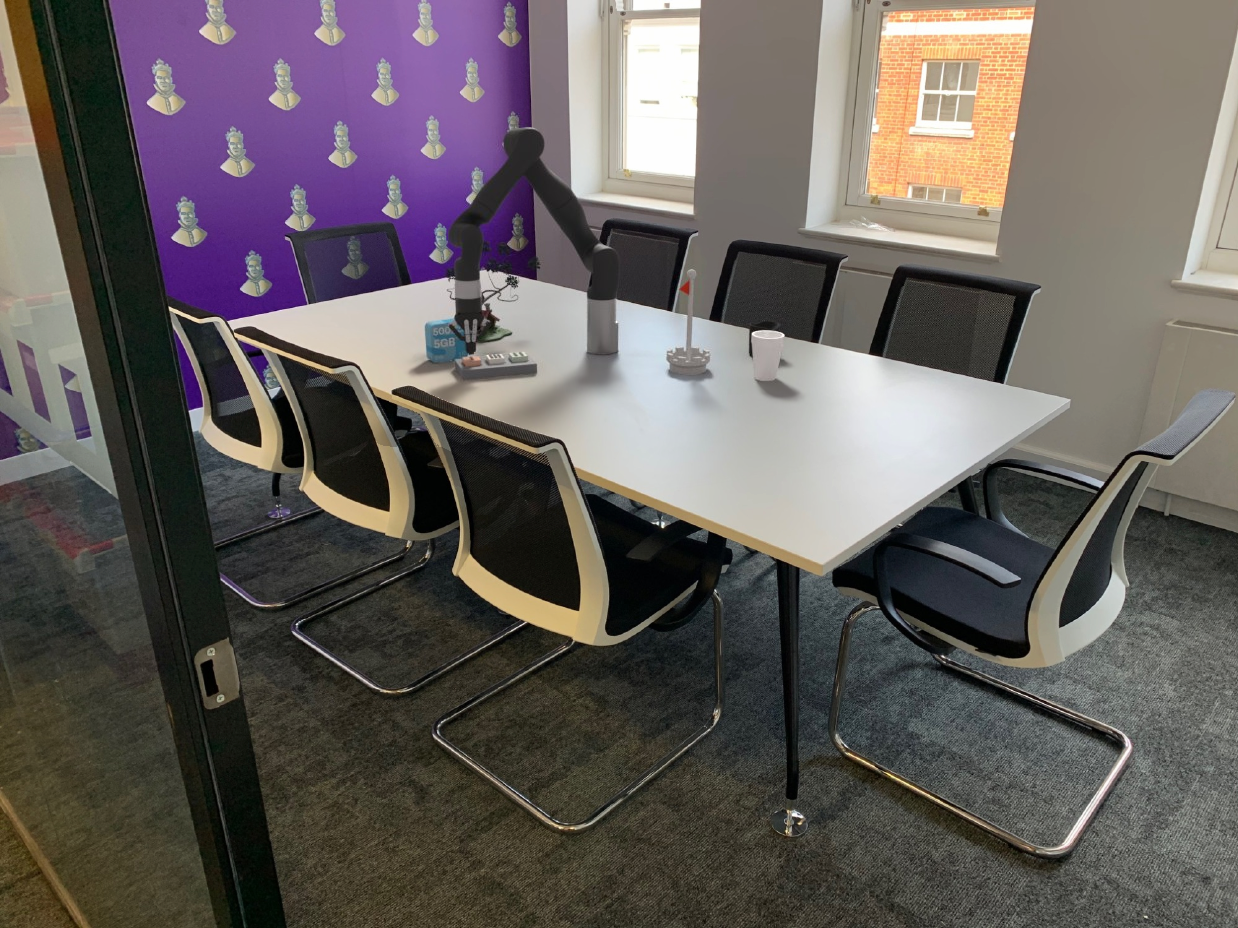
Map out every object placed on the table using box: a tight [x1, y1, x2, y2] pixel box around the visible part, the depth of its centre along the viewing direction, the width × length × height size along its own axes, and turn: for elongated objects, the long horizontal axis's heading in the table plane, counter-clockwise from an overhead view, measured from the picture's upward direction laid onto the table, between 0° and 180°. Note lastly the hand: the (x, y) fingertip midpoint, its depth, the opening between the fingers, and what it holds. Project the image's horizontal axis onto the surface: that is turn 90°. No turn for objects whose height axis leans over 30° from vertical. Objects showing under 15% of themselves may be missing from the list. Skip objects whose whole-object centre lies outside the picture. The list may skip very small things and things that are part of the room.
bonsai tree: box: [445, 240, 541, 343], centre depth 312 cm, size 35×24×32 cm
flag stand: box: [666, 268, 711, 376], centre depth 278 cm, size 13×13×30 cm
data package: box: [424, 317, 469, 364], centre depth 289 cm, size 12×4×12 cm, turn 123°
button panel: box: [454, 352, 538, 381], centre depth 279 cm, size 22×12×3 cm, turn 110°
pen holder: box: [748, 320, 781, 357], centre depth 297 cm, size 9×9×10 cm
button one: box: [462, 355, 481, 367], centre depth 276 cm, size 5×5×3 cm
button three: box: [485, 353, 505, 365], centre depth 279 cm, size 5×5×3 cm
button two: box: [508, 351, 529, 362], centre depth 281 cm, size 5×5×3 cm
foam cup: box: [751, 330, 785, 382], centre depth 274 cm, size 10×9×13 cm
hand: (470, 353), depth 275 cm, fingers closed
